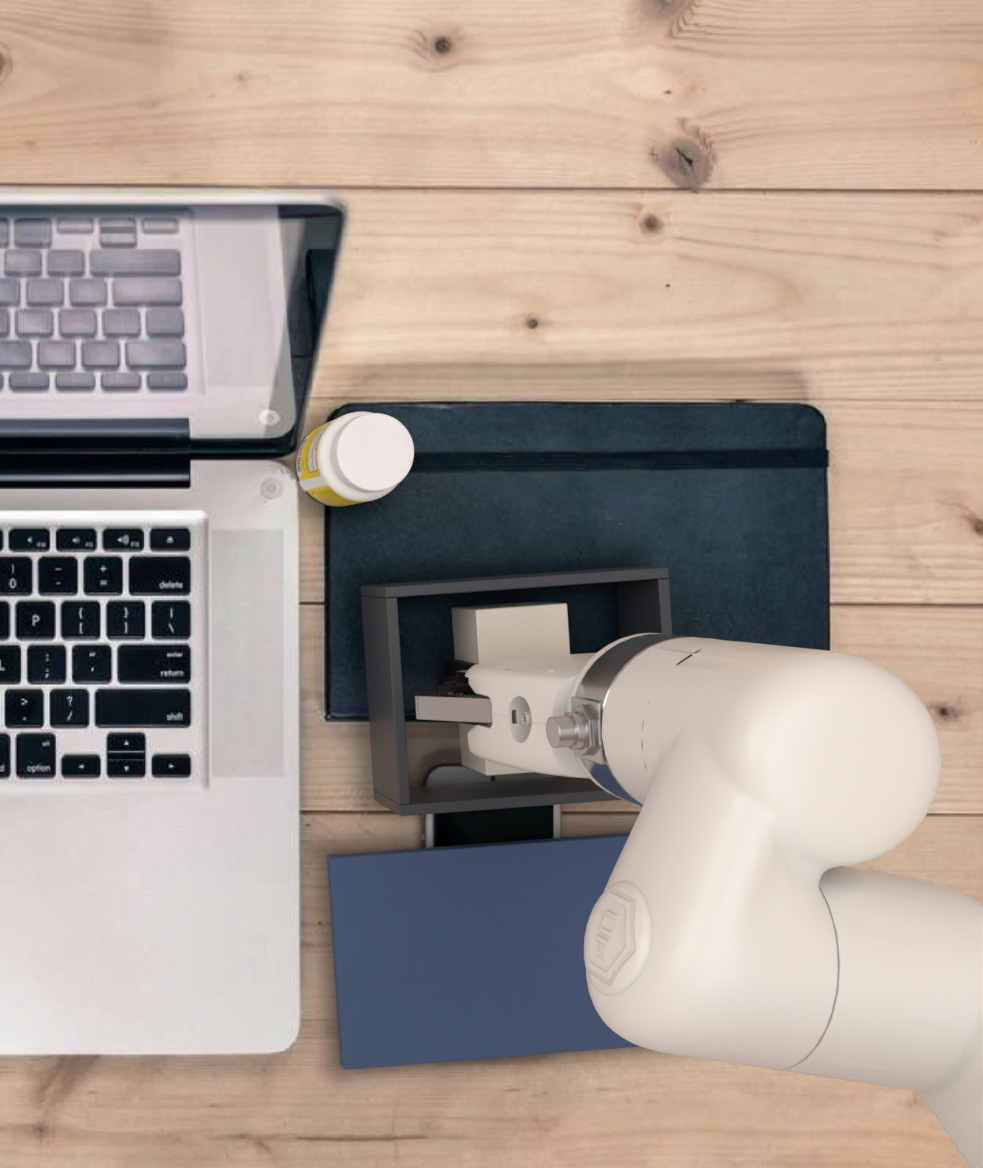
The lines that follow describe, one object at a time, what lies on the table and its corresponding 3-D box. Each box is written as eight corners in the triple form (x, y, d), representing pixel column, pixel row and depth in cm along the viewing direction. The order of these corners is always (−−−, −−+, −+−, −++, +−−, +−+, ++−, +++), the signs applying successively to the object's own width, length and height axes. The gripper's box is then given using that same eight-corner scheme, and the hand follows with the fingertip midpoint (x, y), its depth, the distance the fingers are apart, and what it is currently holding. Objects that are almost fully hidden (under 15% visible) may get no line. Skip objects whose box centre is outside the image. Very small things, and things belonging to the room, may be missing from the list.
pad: (681, 1033, 76) (695, 1042, 75) (337, 1060, 76) (344, 1070, 74) (668, 826, 76) (682, 831, 75) (323, 852, 76) (330, 858, 74)
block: (546, 758, 75) (578, 769, 71) (460, 765, 75) (486, 776, 71) (536, 601, 75) (567, 603, 71) (449, 607, 75) (475, 609, 71)
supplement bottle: (389, 481, 75) (439, 470, 67) (318, 522, 75) (359, 517, 67) (347, 408, 75) (393, 388, 67) (276, 449, 75) (312, 435, 67)
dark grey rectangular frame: (632, 778, 76) (682, 795, 71) (370, 798, 76) (400, 816, 70) (619, 566, 76) (668, 567, 70) (356, 585, 76) (385, 586, 70)
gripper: (475, 824, 56) (356, 760, 75) (868, 795, 57) (655, 739, 75) (464, 648, 56) (348, 628, 75) (857, 620, 57) (646, 607, 75)
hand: (503, 684), depth 75 cm, fingers closed on block, 5 cm apart
